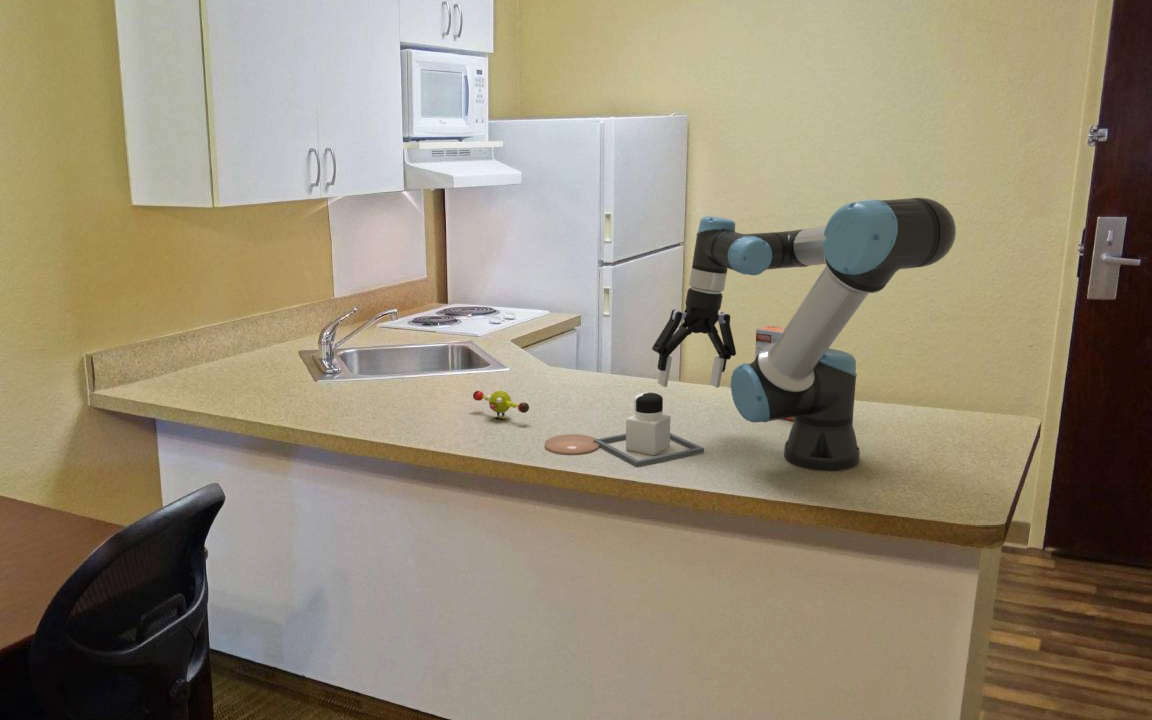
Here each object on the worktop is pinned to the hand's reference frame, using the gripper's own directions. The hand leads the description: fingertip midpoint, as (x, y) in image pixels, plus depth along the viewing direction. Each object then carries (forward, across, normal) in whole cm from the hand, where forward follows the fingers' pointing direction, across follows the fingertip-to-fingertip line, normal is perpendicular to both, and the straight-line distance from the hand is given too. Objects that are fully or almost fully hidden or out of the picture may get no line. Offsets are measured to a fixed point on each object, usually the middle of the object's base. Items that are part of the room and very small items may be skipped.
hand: (688, 385), depth 209 cm
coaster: (+16, +23, -7) cm, 29 cm away
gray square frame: (+14, +9, +2) cm, 16 cm away
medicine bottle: (+14, +9, +2) cm, 17 cm away
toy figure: (+19, +29, -32) cm, 47 cm away
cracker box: (+8, -31, -4) cm, 32 cm away
